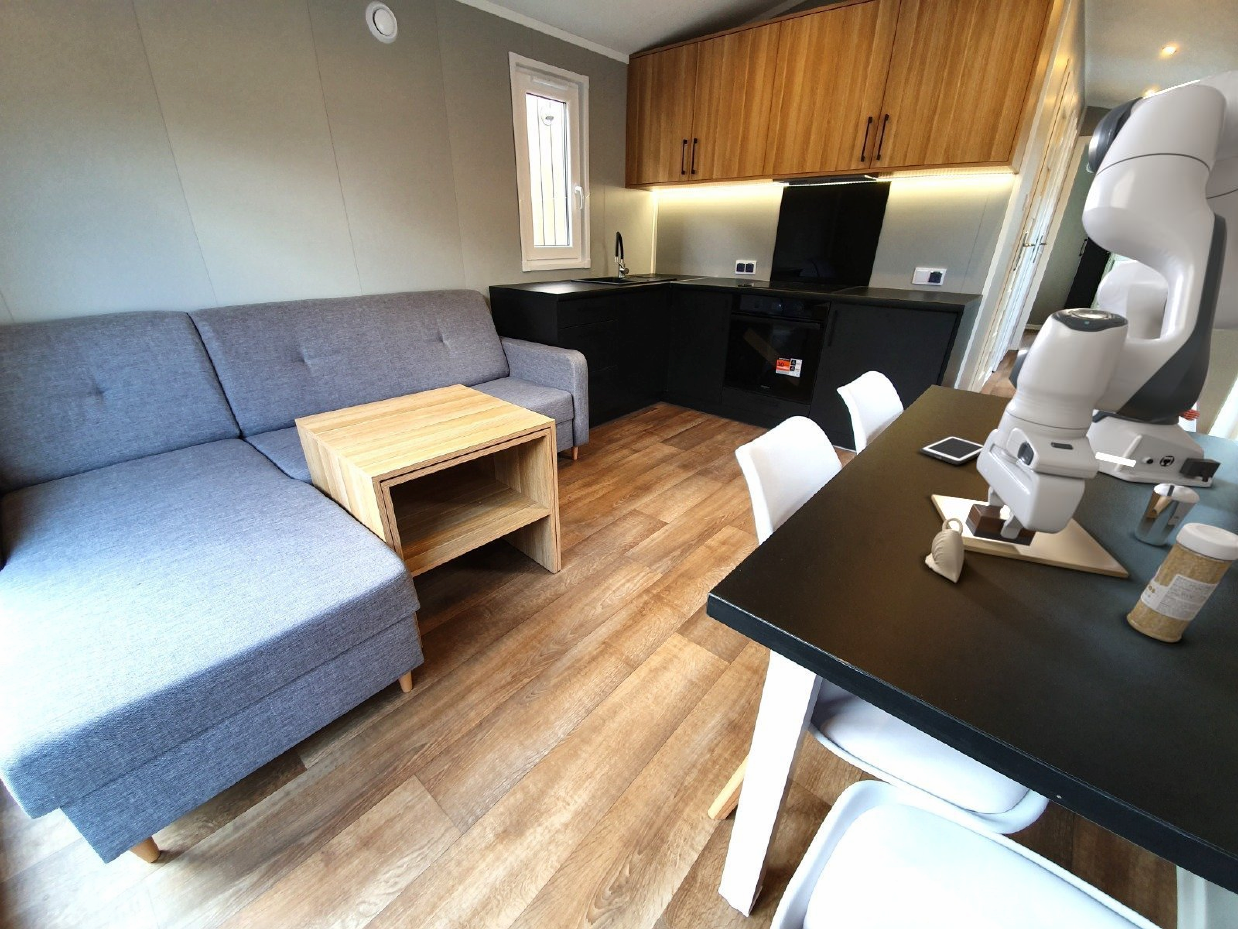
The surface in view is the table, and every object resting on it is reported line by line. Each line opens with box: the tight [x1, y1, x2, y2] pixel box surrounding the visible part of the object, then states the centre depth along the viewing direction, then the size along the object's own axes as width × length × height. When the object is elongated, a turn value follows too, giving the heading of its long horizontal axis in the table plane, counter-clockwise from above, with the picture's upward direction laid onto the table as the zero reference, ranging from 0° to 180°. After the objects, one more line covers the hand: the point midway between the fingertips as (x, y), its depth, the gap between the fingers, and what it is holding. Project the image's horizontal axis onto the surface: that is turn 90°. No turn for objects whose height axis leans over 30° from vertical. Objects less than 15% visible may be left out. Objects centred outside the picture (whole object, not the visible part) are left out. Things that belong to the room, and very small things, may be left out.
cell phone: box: [920, 435, 984, 466], centre depth 104 cm, size 8×15×1 cm, turn 125°
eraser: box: [965, 503, 1036, 546], centre depth 71 cm, size 7×4×4 cm, turn 72°
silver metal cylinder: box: [1134, 483, 1200, 547], centre depth 73 cm, size 4×5×10 cm
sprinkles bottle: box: [1126, 522, 1238, 643], centre depth 54 cm, size 5×5×13 cm
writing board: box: [930, 494, 1130, 579], centre depth 75 cm, size 20×16×1 cm
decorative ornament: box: [924, 517, 965, 584], centre depth 66 cm, size 4×8×5 cm, turn 139°
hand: (999, 526), depth 71 cm, fingers closed on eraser, 4 cm apart
